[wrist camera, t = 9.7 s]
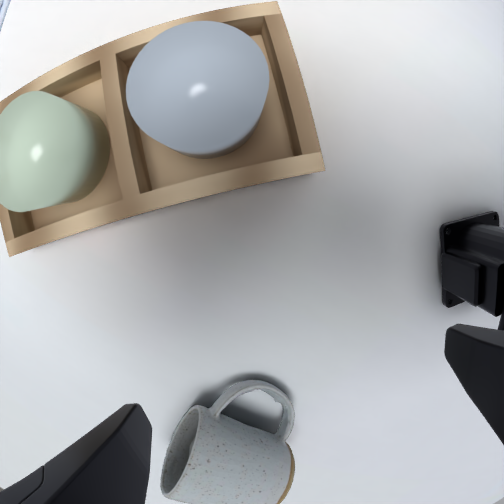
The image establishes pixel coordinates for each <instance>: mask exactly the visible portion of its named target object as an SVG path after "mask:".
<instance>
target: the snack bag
mask: <svg viewBox="0 0 504 504" xmlns="http://www.w3.org/2000/svg"><path fill="white" fill-rule="evenodd" d="M10 1H11V0H0V31H1V28H2V24H3V21H4V18H5V15H6V12H7V9H8V6H9V4H10Z"/></svg>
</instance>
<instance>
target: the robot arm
mask: <svg viewBox="0 0 504 504" xmlns="http://www.w3.org/2000/svg"><path fill="white" fill-rule="evenodd" d="M493 217H494V219H493ZM447 228H448V232H447V233H446V229H447ZM440 234H441V248H442V287H443V305H444V306H446V307H448V308H450V307H453V306H455V305H457V304H460V303H462V302H465V301H466V302H468V303H469V304H471V305H473V306H475V307H476V306H478V307H480V308H482V309H483V310H485V311H487V312H488V313H490V314H492V315H493V316H495V317H497V316H499V315H501V318H500V322H499V326H498V330H495V329H489V328H483V327H476V326H470V325H464V324H456V325H454V326H451V327H449V328H448V329H447V331H446V338H445V350H444V352H445V357H446V360H447V361H448V363H449V364H450V366H451V368H452V369H453V371H454V373H455V374H456V376H457V378H458V379H459V381H460V383H461V384H462V386H463V388H464V389H465V391H466V393H467V394H468V395H469V397H470V398H471V400H472V401H473V402H474V404H475V405H476V406H477V408H478V409H479V411H480V412H481V413H482V415H483V416H484V417H485V419H486V420H487V422H488V423H489V424H490V426H491V427H492V429H493V430H494V432H495V433H496V434H497V436H498V437H499V439H500V440H501V442H502V443H503V445H504V228H503V227H499V216H498V213H497V212H494V211H491V212H487V213H483V214H480V215H476V216H472V217H468V218H464V219H461V220H457V221H453V222H449V223H445V224H443V225H442V226H441V229H440ZM449 299H450V301H449ZM448 301H449V302H448ZM151 441H152V426H151V424H150V422H149V420H148V418H147V416H146V414H145V412H144V411H143V409H142V407H141V406H140V405H139V404H137V403H134V404H125V405H124V406H122V407H121V408H120V409H119V410H117V411H116V412H115V413H113V414H112V415H111V416H109V417H108V418H107V419H105V420H104V421H103V422H101V423H100V424H99V425H98V426H96V427H95V428H94V429H92V430H91V431H90V432H88V433H87V434H85V435H84V436H83V437H81V438H80V439H79V440H77V441H76V442H75V443H73V444H72V445H71V446H69V447H68V448H66V449H65V450H64V451H62V452H61V453H60V454H58V455H57V456H55V457H54V458H53V459H51V460H50V461H48V462H47V463H46V464H45V465H44V466H41V467H40V468H38V469H37V470H36V471H34V472H33V473H31V474H30V475H28V476H27V477H25V478H23V479H22V480H20V481H18V482H17V483H15V484H13V485H12V486H10V487H8V488H6V489H4V490H3V491H1V492H0V504H145V499H146V492H147V486H148V480H149V473H150V458H151Z"/></svg>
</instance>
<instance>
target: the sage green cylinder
mask: <svg viewBox="0 0 504 504" xmlns="http://www.w3.org/2000/svg"><path fill="white" fill-rule="evenodd" d="M109 153H110V143H109V136H108V132H107V129H106V127H105V125H104V123H103V121H102V120H101V118H100V117H99V116H98V115H97V114H96V113H94V112H93V111H91V110H89V109H87V108H84V107H82V106H79V105H77V104H74V103H72V102H69V101H67V100H64V99H62V98H59V97H57V96H54V95H52V94H49V93H46V92H43V91H31V92H27V93H24V94H22V95H20V96H18V97H17V98H16V99H14V100H13V101H12V102H11V103H9V104H8V106H7V107H6V108H5V109H4V110H3V111H2V113H1V114H0V204H1V205H3V206H4V207H5V208H7V209H9V210H11V211H14V212H26V211H31V210H36V209H41V208H46V207H51V206H56V205H62V204H67V203H72V202H76V201H79V200H81V199H83V198H85V197H86V196H87V195H89V194H90V193H91V192H92V191H93V190H94V189H95V188H96V186H97V185H98V184H99V182H100V181H101V179H102V177H103V175H104V173H105V170H106V168H107V164H108V160H109Z"/></svg>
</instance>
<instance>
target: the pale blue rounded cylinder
mask: <svg viewBox="0 0 504 504" xmlns="http://www.w3.org/2000/svg"><path fill="white" fill-rule="evenodd" d="M268 89H269V69H268V64H267V61H266V59H265V56H264V54H263V52H262V51H261V49H260V47H259V46H258V45H257V44H256V42H255V41H254V40H253V39H252V38H251V37H250V36H248V35H247V34H246V33H244V32H243V31H241V30H239V29H237V28H235V27H233V26H230V25H228V24H224V23H220V22H214V21H194V22H188V23H183V24H180V25H177V26H174V27H172V28H170V29H167V30H165V31H164V32H162V33H160V34H159V35H157V36H156V37H155V38H153V39H152V40H151V41H150V42H149V43H148V44H146V45H145V46H144V48H143V49H142V50H141V51H140V52H139V54H138V55H137V57H136V58H135V60H134V62H133V64H132V66H131V68H130V71H129V74H128V78H127V83H126V100H127V104H128V108H129V111H130V113H131V116H132V117H133V119H134V121H135V122H136V124H137V125H138V126H139V127H140V128H141V129H142V130H143V131H144V132H145V133H146V134H147V135H149V136H150V137H152V138H153V139H155V140H156V141H158V142H160V143H162V144H164V145H166V146H167V147H169V148H171V149H173V150H175V151H177V152H179V153H181V154H183V155H185V156H188V157H192V158H197V159H212V158H217V157H221V156H224V155H227V154H229V153H231V152H233V151H235V150H236V149H238V148H239V147H241V146H242V145H243V144H244V143H245V142H246V141H247V140H248V139H249V138H250V137H251V136H252V134H253V133H254V131H255V129H256V128H257V125H258V123H259V120H260V117H261V113H262V110H263V106H264V103H265V100H266V96H267V92H268Z"/></svg>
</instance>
